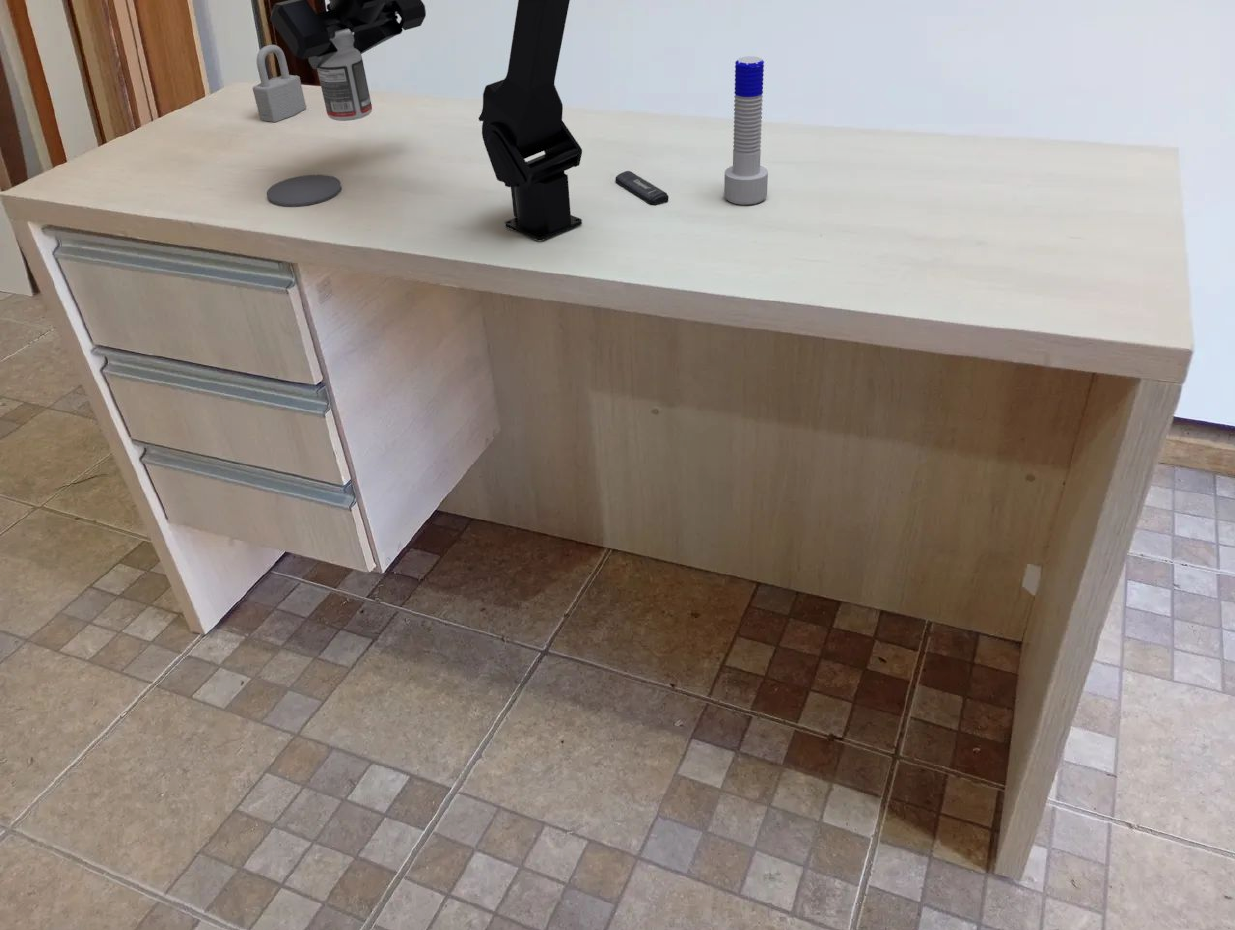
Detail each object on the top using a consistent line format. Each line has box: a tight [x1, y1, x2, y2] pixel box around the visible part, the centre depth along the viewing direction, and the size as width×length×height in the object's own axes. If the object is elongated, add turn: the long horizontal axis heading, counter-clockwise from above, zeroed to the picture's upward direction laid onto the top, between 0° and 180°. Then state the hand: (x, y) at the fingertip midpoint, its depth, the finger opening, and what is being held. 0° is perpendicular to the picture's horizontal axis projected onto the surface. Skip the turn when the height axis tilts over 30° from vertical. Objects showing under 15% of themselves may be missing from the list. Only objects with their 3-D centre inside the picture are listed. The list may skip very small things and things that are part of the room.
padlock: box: [252, 44, 307, 123], centre depth 151 cm, size 7×4×10 cm, turn 152°
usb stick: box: [614, 170, 669, 206], centre depth 123 cm, size 10×3×2 cm, turn 29°
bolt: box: [723, 56, 769, 206], centre depth 116 cm, size 16×5×5 cm
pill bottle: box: [316, 30, 373, 122], centre depth 128 cm, size 6×6×10 cm
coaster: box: [266, 174, 342, 208], centre depth 128 cm, size 9×9×1 cm
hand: (332, 59), depth 128 cm, fingers closed on pill bottle, 6 cm apart
